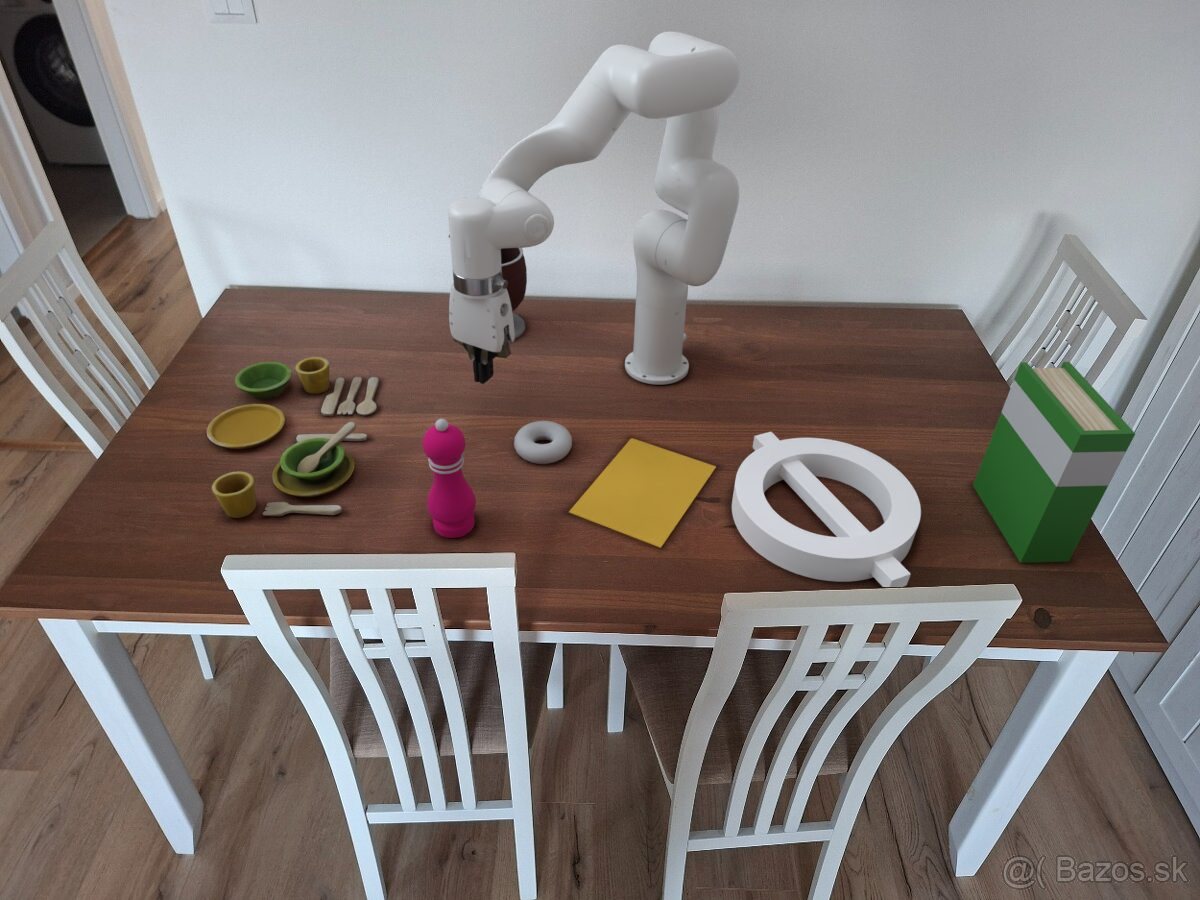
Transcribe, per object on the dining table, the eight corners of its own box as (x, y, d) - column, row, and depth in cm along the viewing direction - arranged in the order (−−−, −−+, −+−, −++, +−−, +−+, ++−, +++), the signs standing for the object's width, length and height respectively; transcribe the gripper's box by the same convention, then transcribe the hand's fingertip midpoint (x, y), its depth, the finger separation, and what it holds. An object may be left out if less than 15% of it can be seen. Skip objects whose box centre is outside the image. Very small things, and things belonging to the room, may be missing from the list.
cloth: (631, 438, 146) (631, 437, 146) (716, 467, 140) (716, 466, 140) (568, 512, 130) (568, 511, 130) (660, 548, 125) (660, 547, 124)
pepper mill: (469, 544, 125) (457, 438, 112) (423, 536, 126) (406, 431, 113) (484, 512, 130) (474, 408, 118) (440, 505, 131) (425, 402, 119)
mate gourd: (536, 316, 179) (534, 228, 167) (517, 348, 169) (512, 257, 156) (468, 307, 182) (461, 220, 169) (445, 338, 171) (435, 248, 159)
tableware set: (342, 522, 128) (335, 491, 124) (159, 524, 127) (145, 493, 123) (387, 375, 160) (382, 347, 156) (241, 376, 159) (232, 348, 155)
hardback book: (972, 485, 137) (1020, 362, 122) (1016, 484, 138) (1069, 361, 123) (1020, 562, 124) (1080, 434, 109) (1068, 561, 124) (1135, 433, 109)
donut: (555, 475, 138) (582, 441, 145) (555, 459, 136) (581, 425, 143) (503, 458, 141) (531, 426, 148) (502, 442, 139) (531, 410, 146)
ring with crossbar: (754, 444, 145) (757, 422, 142) (920, 484, 137) (927, 462, 134) (711, 550, 124) (714, 526, 122) (903, 604, 117) (912, 580, 114)
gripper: (531, 282, 129) (533, 381, 140) (453, 259, 134) (460, 357, 146) (504, 301, 124) (508, 402, 135) (424, 277, 129) (434, 377, 140)
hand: (483, 378), depth 140 cm, fingers closed
